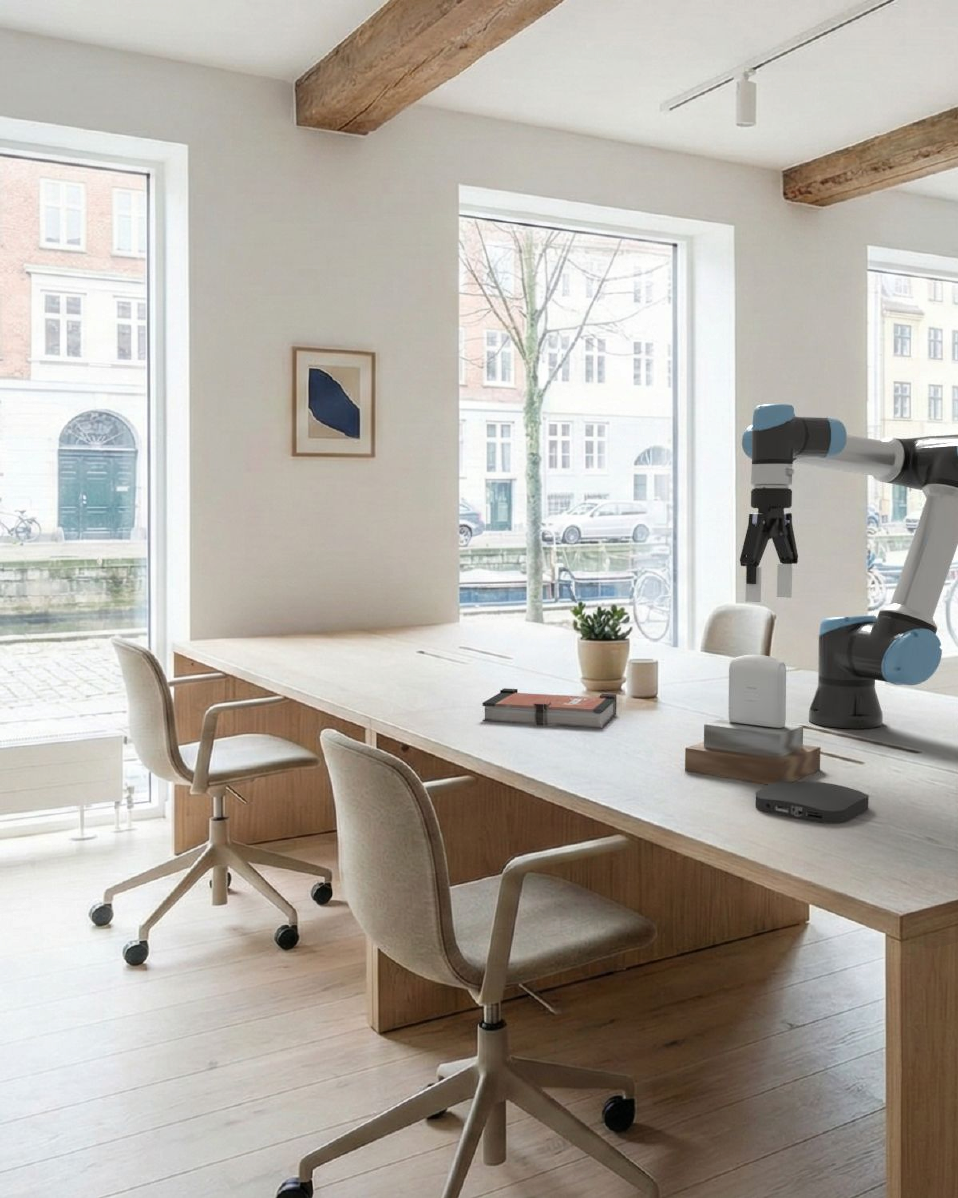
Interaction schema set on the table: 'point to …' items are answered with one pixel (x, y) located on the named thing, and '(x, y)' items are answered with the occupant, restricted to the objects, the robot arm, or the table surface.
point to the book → (550, 709)
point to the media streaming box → (812, 801)
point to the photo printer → (757, 691)
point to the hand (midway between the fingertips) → (768, 599)
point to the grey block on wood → (753, 753)
